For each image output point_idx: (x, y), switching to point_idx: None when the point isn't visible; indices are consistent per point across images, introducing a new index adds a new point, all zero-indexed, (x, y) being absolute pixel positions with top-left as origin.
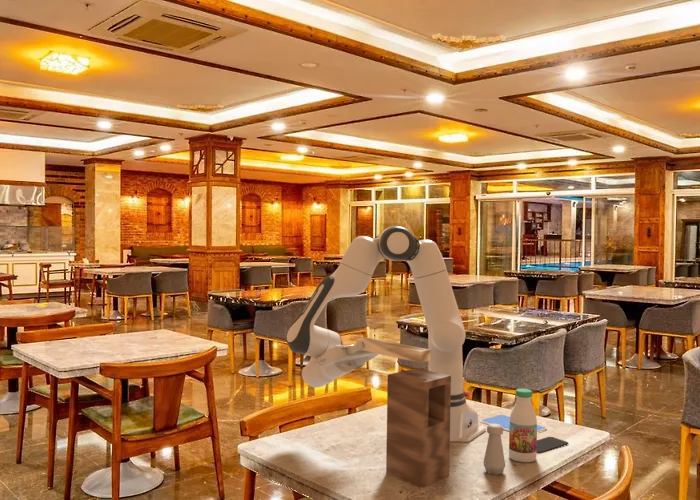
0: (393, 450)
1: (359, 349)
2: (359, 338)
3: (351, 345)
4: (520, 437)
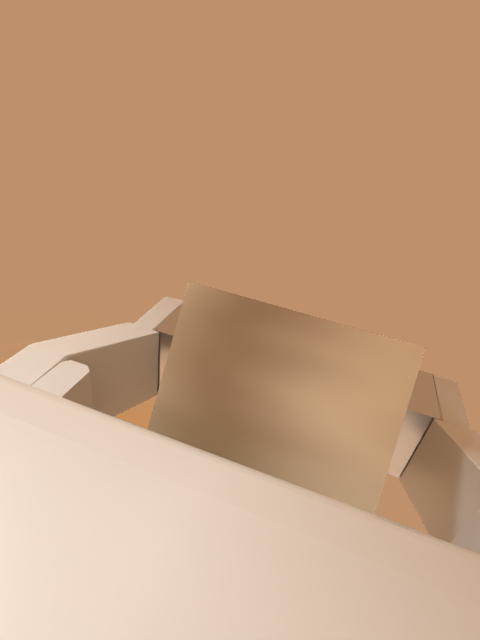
0: None
1: (408, 474)
2: (349, 326)
3: (448, 543)
4: None
